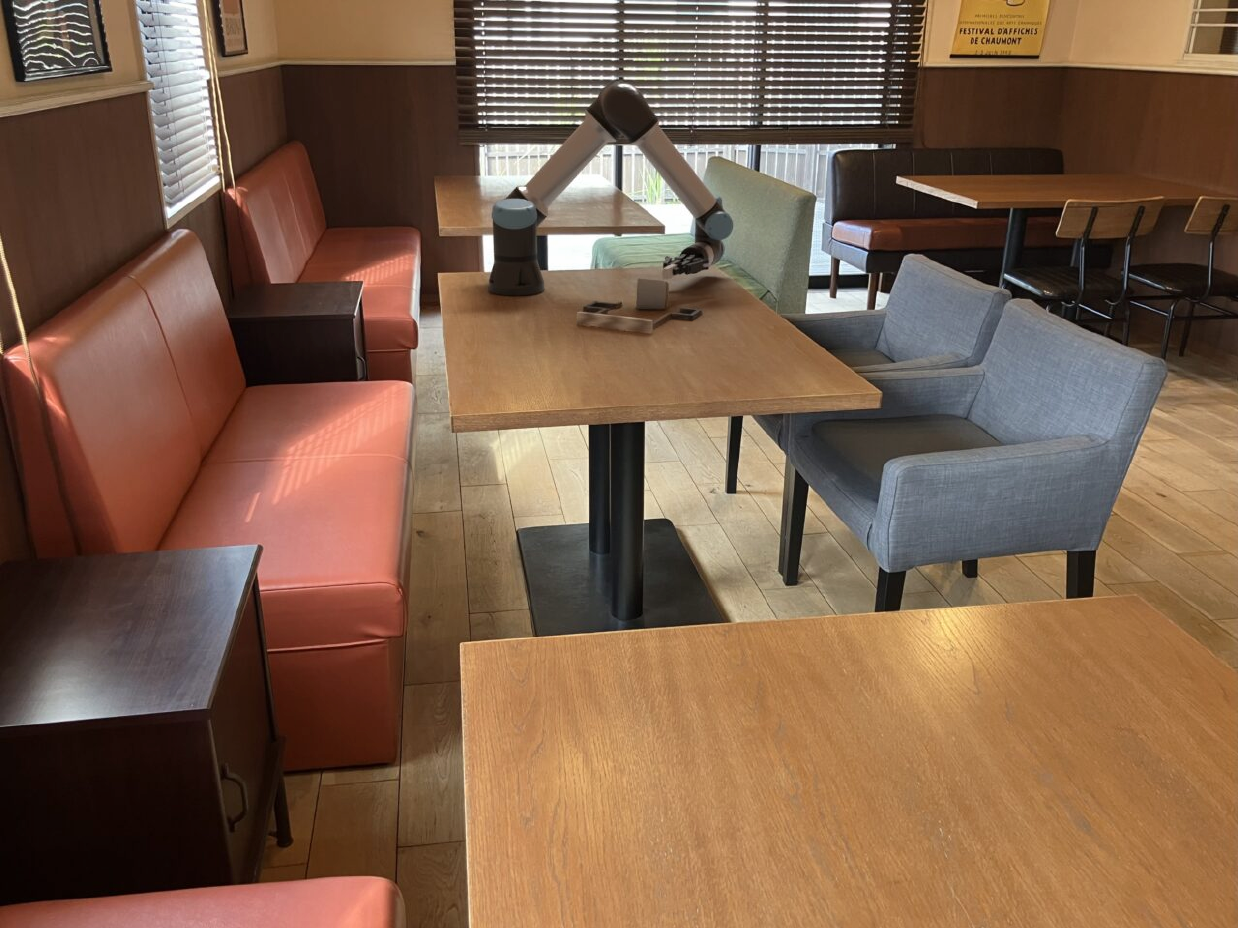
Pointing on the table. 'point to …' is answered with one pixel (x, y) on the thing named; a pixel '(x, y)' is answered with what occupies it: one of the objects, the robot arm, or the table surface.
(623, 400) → the table surface
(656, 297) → the ceramic mug
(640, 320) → the frame with square trays
